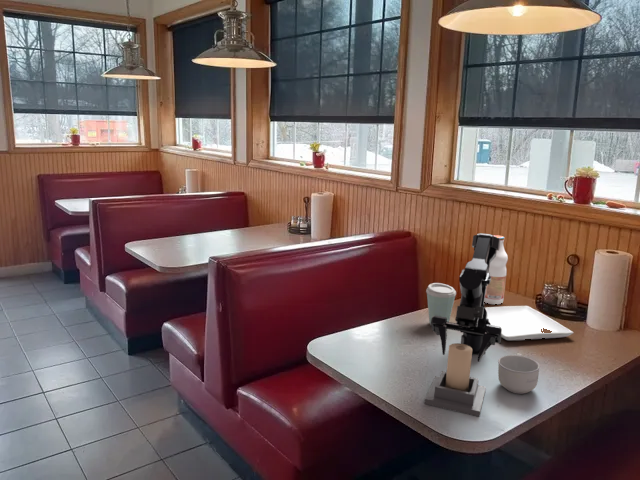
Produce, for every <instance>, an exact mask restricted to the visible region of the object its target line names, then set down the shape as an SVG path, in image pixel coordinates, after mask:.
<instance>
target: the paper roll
mask: <svg viewBox="0 0 640 480" xmlns="http://www.w3.org/2000/svg"><path fill="white" fill-rule="evenodd" d="M472 356H473V354H472V348H471V347H470V346H468V345H465V344H461V342H459V343H450V344H449V345H448V355H447V365H446V366H447V367H446V372H447V374H446V385H445V387H447V388H451V389H456V390H460V391H465V392H468V388H469V378H470V377H471V367H472V359H473V358H472Z"/></svg>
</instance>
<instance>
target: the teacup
mask: <svg viewBox="0 0 640 480" xmlns="http://www.w3.org/2000/svg"><path fill="white" fill-rule="evenodd" d="M497 362H498V368H497V369H498V370H497V371H498V372H497V374H498V382H499V383H500V384H501V386H502V387H503V388H504V389H506V390H507V391H508V392H511V393H514V394H517V395H518V394H520V395H521V394H523V395H524V394H527V393H529V392H531V391H533V390H534V389H535V388H536V387H537V385H538V382H539V381H538V380H539V372H540V367H541V366H540V364H539V362H538V361H536V359H535V360H534V359H532V358H530V357H527V356H524V355H523V354H522V353H519V352H518V353H516V354H510V355H504V356H500V358H499V359H498V361H497Z"/></svg>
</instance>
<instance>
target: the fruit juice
mask: <svg viewBox="0 0 640 480" xmlns="http://www.w3.org/2000/svg"><path fill="white" fill-rule="evenodd" d="M494 236H497V238H500V247H499V251H498V250H497V253H496V257H495V258H494V259H493V260H492V261H491V263H490V267H489V273H490V276H491V282H490V284H488V285H487V288H486V295H485V301H484V302H485V303H484V304H487V303H488V304H489V305H495V304H497V305H501V303H502V304H503V302H504V299H505V298H504V297H505V290H506V283H507V282H506V281H507V263H508V261H509V258H508V257H509V256H508V254H507V252H506V250H505V247H504V241H505V236H502V235H494Z"/></svg>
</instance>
